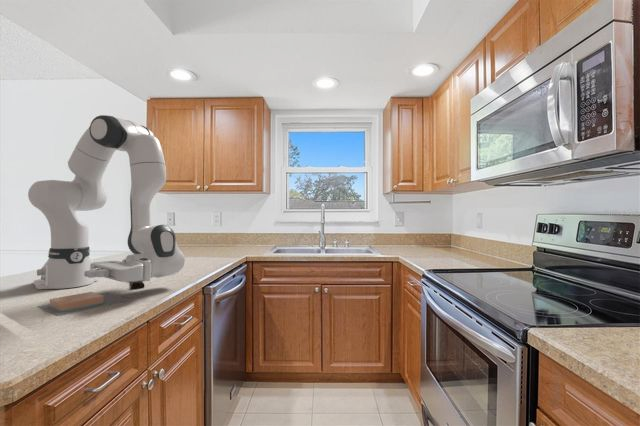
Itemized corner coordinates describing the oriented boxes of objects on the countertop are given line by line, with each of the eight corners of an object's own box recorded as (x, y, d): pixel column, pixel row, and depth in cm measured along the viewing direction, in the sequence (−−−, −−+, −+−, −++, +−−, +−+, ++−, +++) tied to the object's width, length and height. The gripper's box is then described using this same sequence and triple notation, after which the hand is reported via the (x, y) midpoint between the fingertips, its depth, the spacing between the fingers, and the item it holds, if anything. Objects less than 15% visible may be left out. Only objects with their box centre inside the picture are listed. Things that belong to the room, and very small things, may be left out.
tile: (90, 298, 96) (49, 306, 88) (90, 291, 96) (49, 299, 88) (103, 303, 92) (61, 311, 84) (103, 295, 92) (61, 304, 84)
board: (37, 311, 88) (37, 306, 88) (108, 297, 103) (108, 292, 103) (57, 321, 80) (57, 316, 80) (130, 304, 96) (130, 300, 96)
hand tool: (144, 293, 110) (144, 279, 110) (130, 294, 108) (131, 280, 109) (144, 282, 127) (144, 270, 127) (132, 283, 125) (132, 271, 125)
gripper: (119, 255, 108) (71, 260, 96) (153, 261, 97) (103, 267, 86) (119, 273, 108) (71, 280, 96) (152, 281, 97) (102, 290, 86)
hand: (86, 274), depth 91 cm, fingers closed
